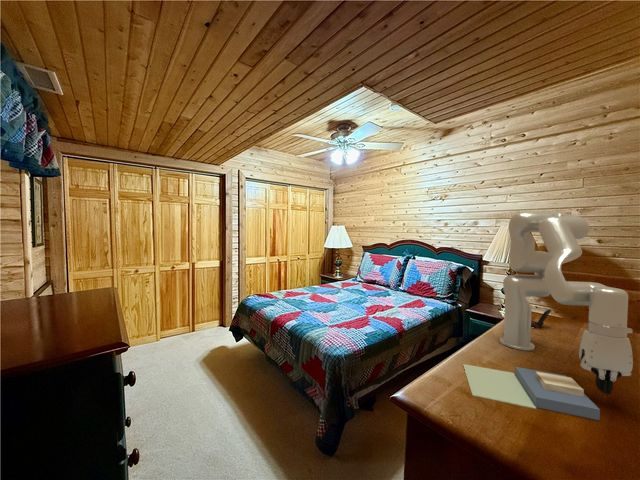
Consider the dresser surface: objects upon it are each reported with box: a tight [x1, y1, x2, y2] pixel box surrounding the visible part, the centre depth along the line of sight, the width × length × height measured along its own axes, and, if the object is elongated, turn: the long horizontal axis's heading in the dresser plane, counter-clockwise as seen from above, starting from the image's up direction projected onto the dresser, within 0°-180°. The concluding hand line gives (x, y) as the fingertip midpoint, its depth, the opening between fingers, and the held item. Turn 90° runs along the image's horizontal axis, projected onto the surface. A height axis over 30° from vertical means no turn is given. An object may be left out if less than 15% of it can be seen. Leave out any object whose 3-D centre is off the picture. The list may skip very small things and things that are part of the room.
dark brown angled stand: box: [531, 309, 552, 330], centre depth 141 cm, size 9×12×10 cm
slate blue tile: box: [514, 366, 601, 421], centre depth 81 cm, size 18×14×3 cm
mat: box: [462, 363, 537, 410], centre depth 87 cm, size 20×16×1 cm
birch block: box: [536, 372, 585, 397], centre depth 81 cm, size 7×9×2 cm
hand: (603, 391), depth 77 cm, fingers closed
